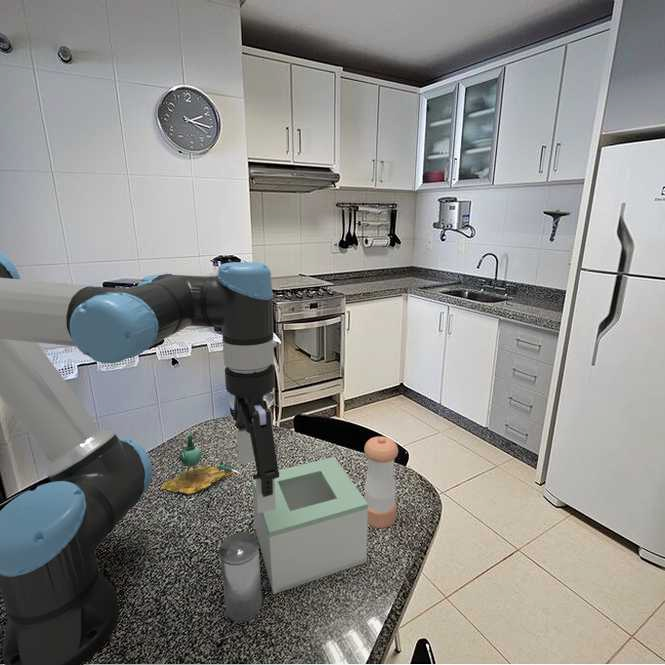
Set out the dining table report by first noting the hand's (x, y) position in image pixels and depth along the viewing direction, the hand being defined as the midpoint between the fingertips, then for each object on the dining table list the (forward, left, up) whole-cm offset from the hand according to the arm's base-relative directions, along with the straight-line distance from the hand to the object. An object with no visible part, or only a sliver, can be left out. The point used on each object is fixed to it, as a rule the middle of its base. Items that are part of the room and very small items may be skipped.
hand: (255, 483), depth 67 cm
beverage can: (+9, +42, -20) cm, 47 cm away
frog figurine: (-9, +33, -20) cm, 39 cm away
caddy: (+10, +4, -20) cm, 22 cm away
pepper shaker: (+27, +6, -20) cm, 34 cm away
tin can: (-4, -4, -20) cm, 21 cm away
